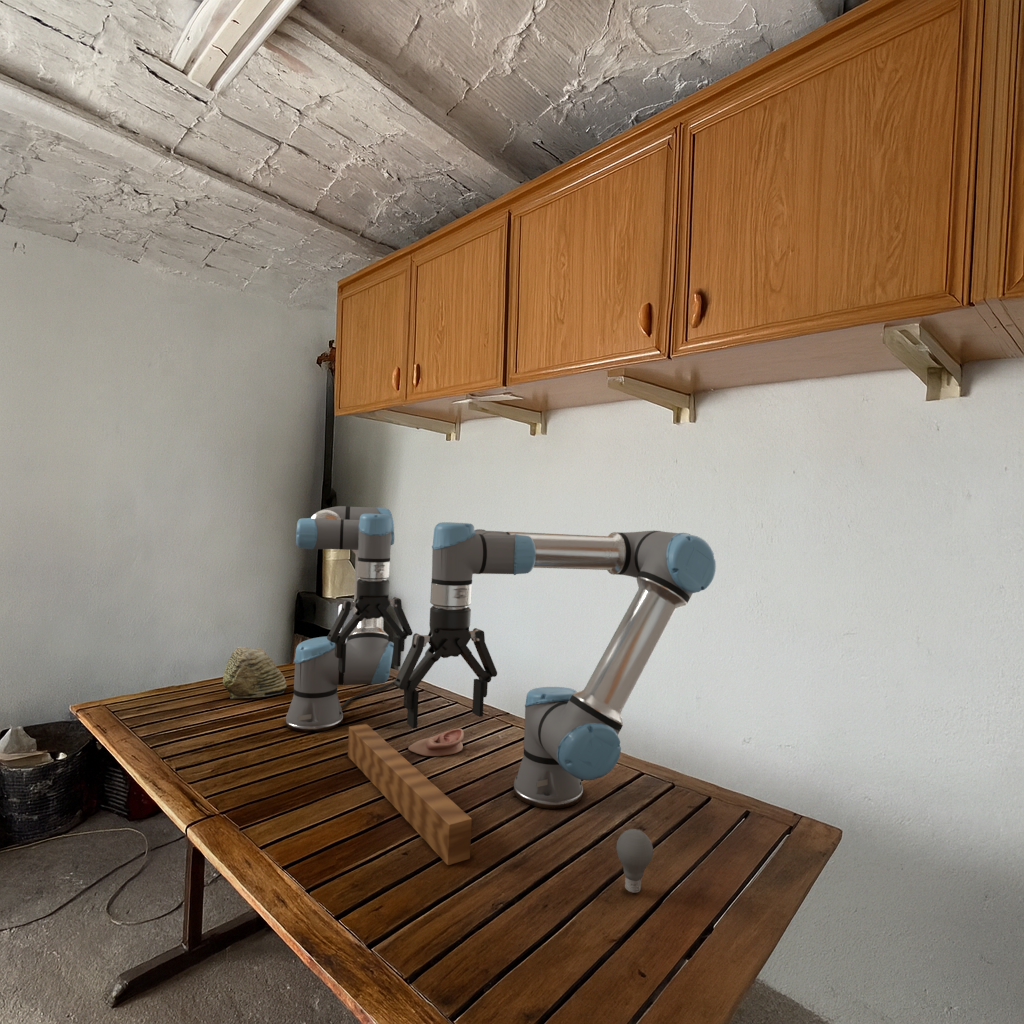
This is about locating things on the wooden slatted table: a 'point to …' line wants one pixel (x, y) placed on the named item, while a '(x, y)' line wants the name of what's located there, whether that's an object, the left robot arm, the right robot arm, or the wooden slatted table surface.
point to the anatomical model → (439, 744)
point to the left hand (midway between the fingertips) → (369, 668)
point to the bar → (412, 795)
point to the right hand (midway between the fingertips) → (445, 720)
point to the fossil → (252, 674)
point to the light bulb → (634, 857)
